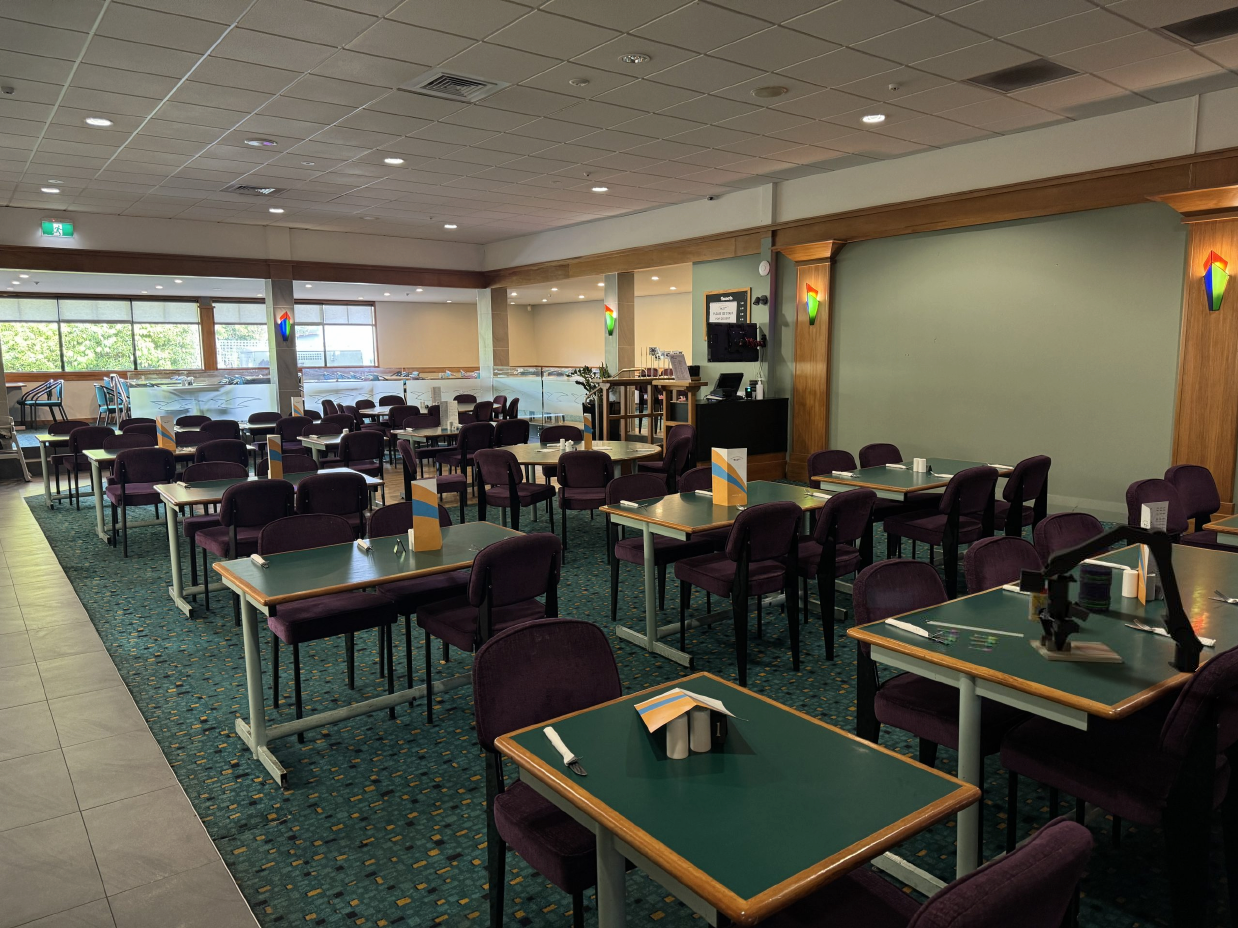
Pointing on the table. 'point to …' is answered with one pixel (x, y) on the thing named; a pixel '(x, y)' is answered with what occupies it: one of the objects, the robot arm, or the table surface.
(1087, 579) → the storage jar
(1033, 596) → the canned food
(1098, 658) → the board
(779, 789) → the table surface
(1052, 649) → the c link
